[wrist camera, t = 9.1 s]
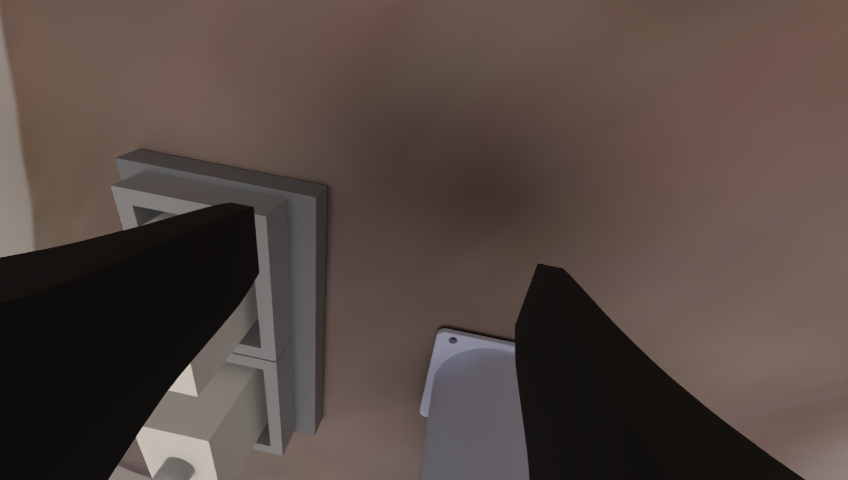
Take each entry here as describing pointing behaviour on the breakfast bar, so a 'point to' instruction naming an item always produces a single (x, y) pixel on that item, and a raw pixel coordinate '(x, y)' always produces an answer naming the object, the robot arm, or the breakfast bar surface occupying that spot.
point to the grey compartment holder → (265, 341)
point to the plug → (216, 342)
